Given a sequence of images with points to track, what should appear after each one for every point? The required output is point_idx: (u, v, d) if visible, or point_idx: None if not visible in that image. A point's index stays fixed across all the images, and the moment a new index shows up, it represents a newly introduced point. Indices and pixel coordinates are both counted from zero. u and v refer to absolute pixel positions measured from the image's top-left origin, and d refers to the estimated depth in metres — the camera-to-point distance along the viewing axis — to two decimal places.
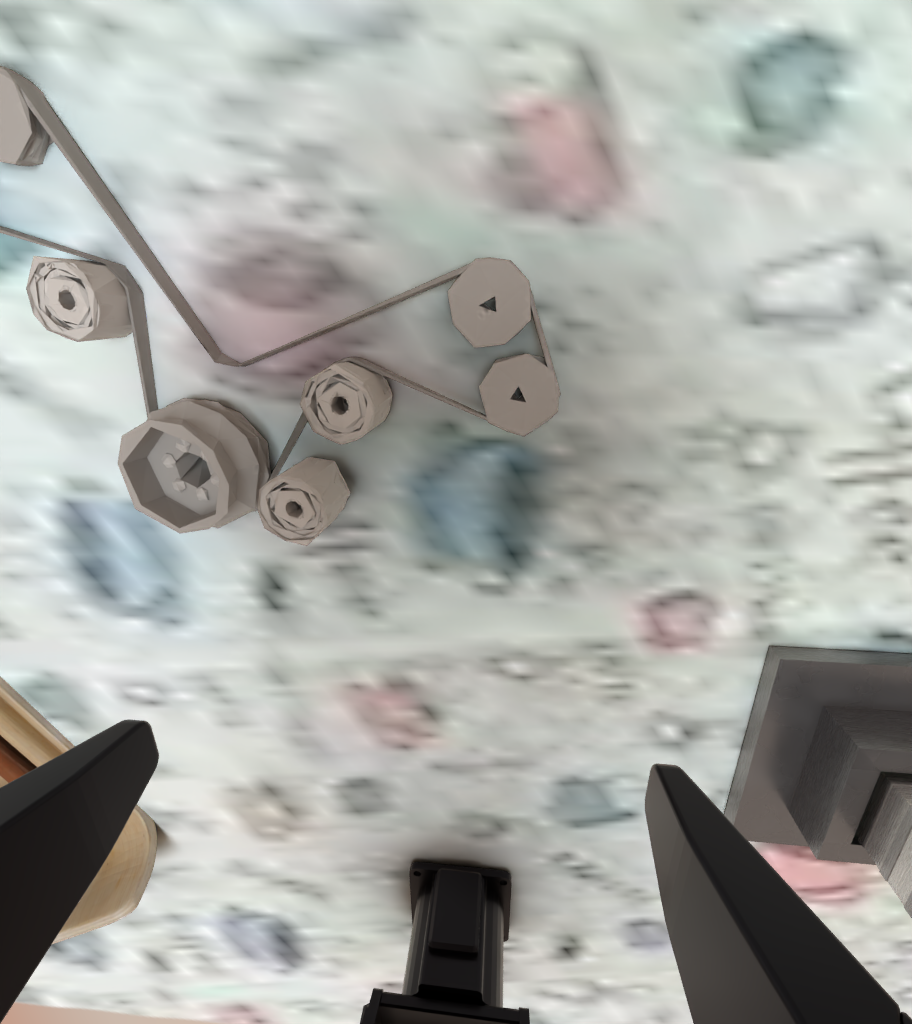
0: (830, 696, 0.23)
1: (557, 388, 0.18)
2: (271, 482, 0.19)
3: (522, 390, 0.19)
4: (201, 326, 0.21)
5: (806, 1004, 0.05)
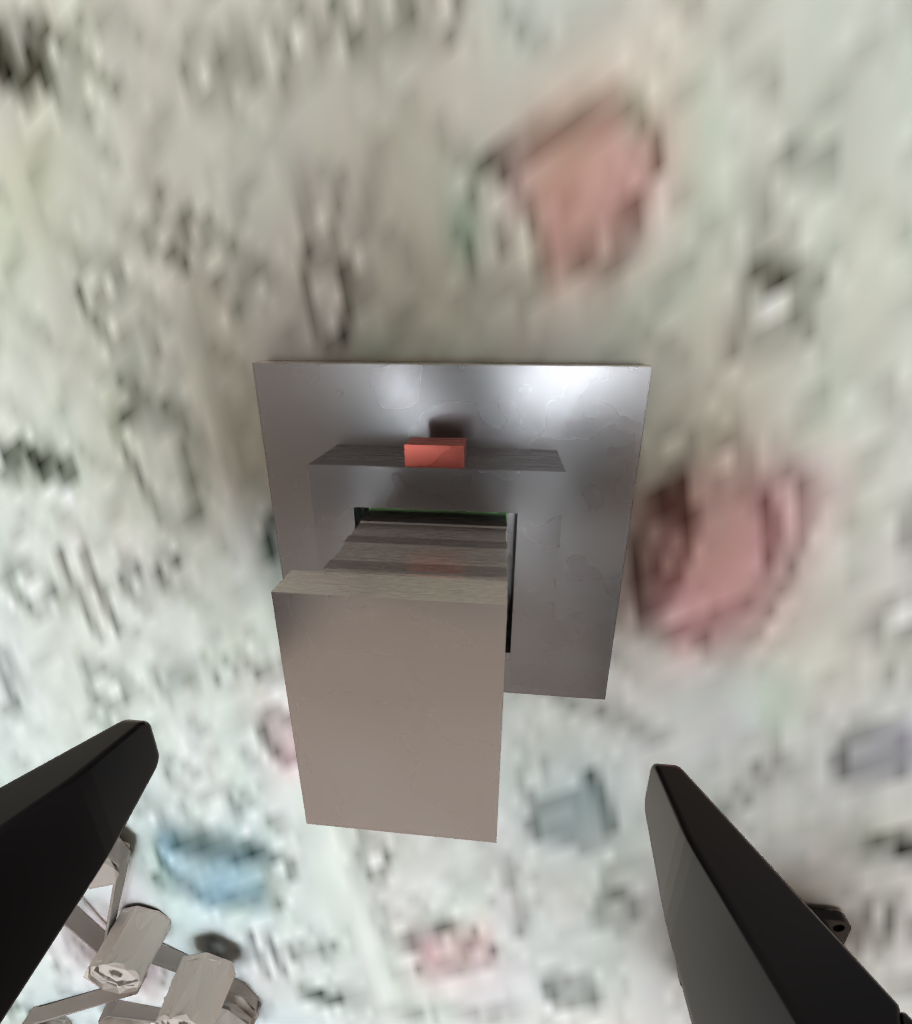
0: None
1: None
2: None
3: None
4: None
5: (806, 1003, 0.05)
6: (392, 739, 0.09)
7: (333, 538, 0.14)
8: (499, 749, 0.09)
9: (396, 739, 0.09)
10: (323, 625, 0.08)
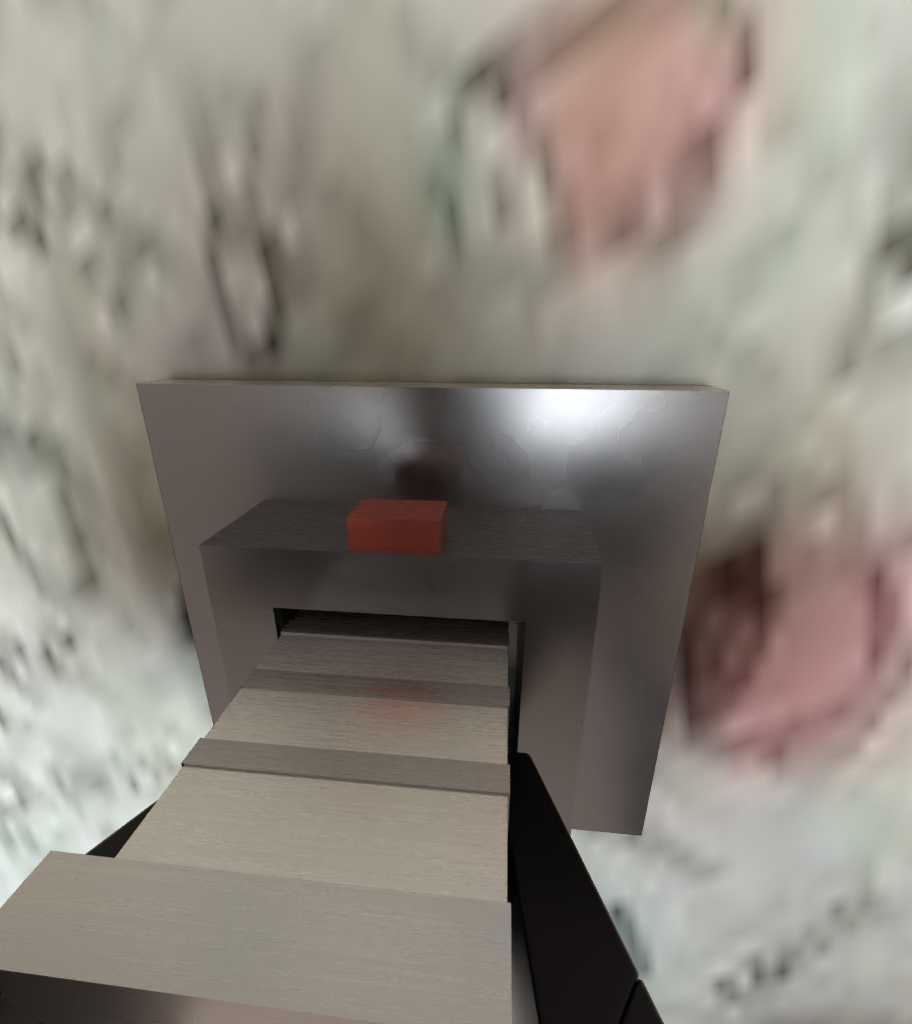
0: None
1: None
2: None
3: None
4: None
5: (548, 971, 0.05)
6: None
7: (246, 650, 0.09)
8: None
9: None
10: None
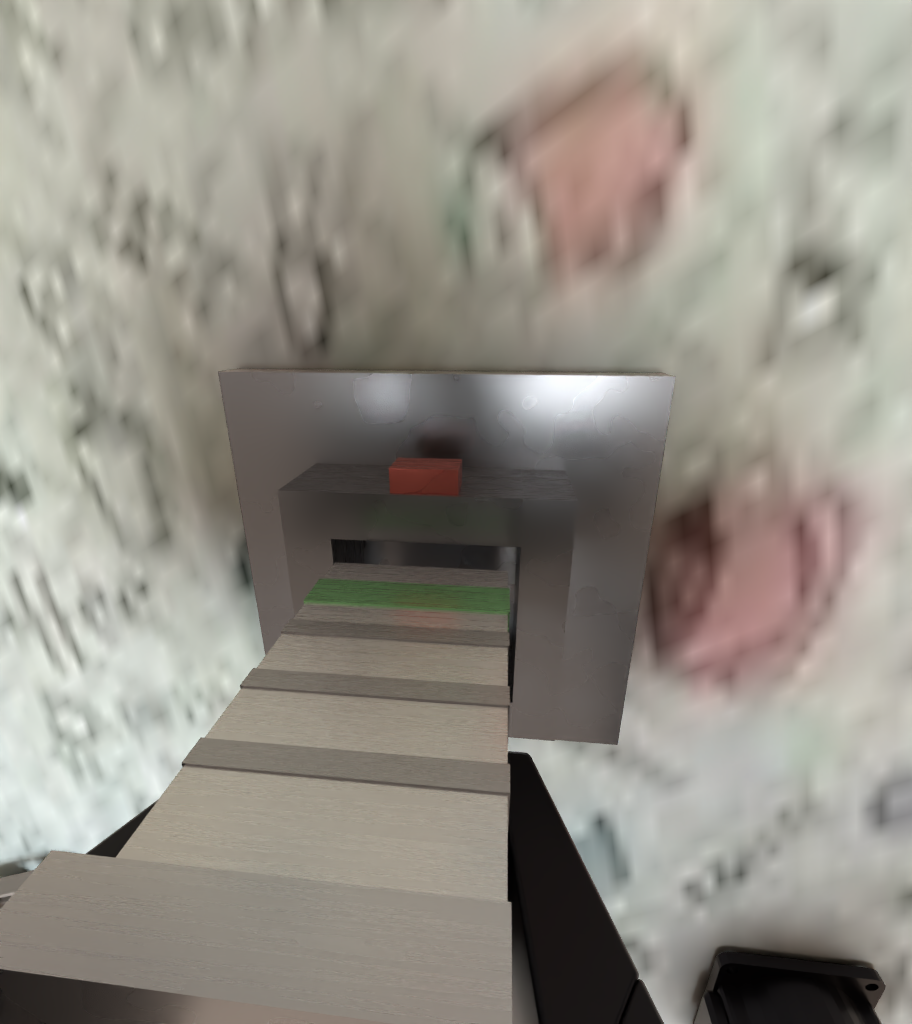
0: None
1: None
2: None
3: None
4: None
5: (549, 972, 0.05)
6: None
7: (308, 574, 0.12)
8: None
9: None
10: None
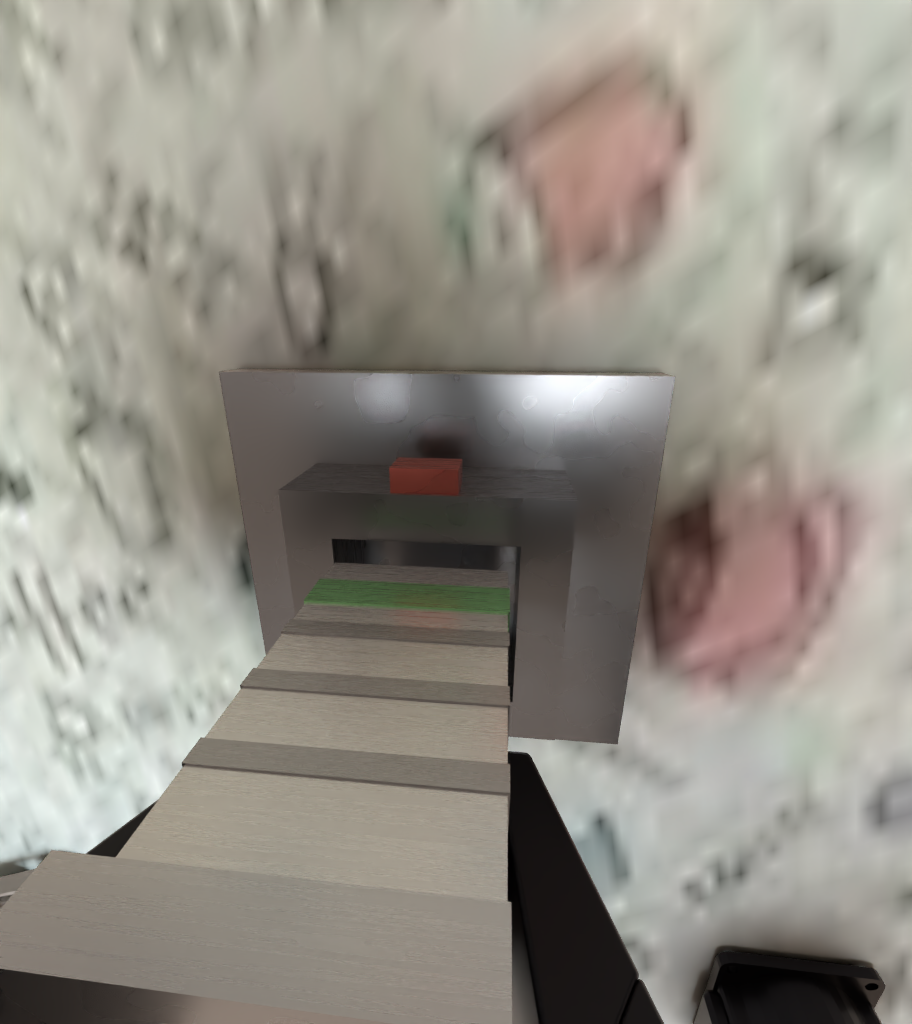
0: None
1: None
2: None
3: None
4: None
5: (549, 971, 0.05)
6: None
7: (309, 574, 0.12)
8: None
9: None
10: None
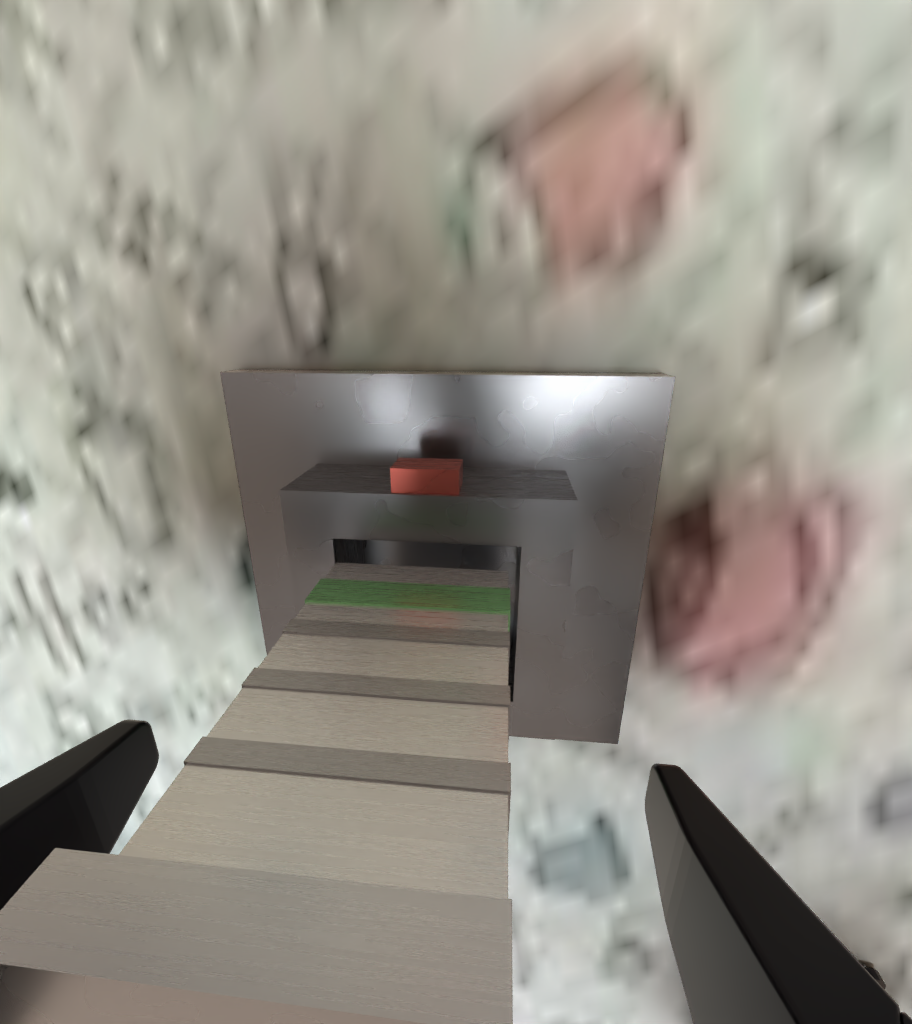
0: None
1: None
2: None
3: None
4: None
5: (806, 1004, 0.05)
6: None
7: (310, 573, 0.12)
8: None
9: None
10: (90, 1021, 0.04)
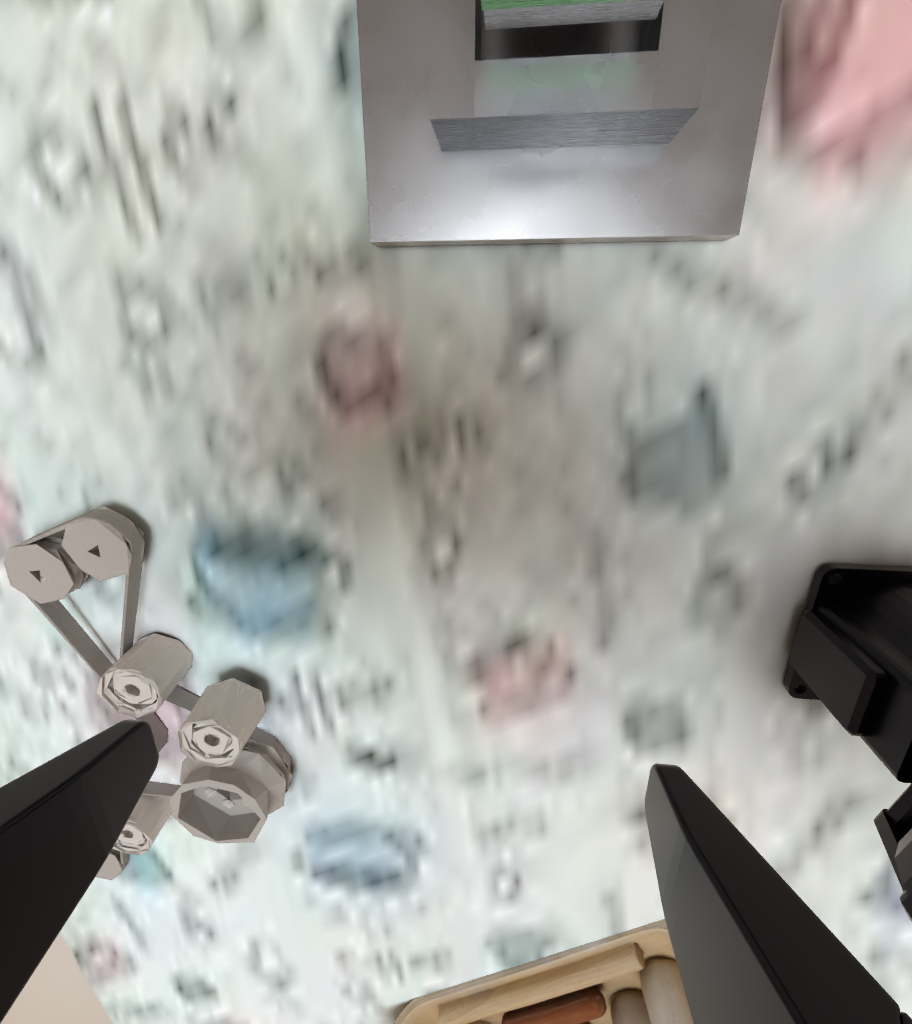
0: (424, 146, 0.15)
1: (79, 519, 0.21)
2: (190, 753, 0.23)
3: (89, 548, 0.21)
4: None
5: (806, 1004, 0.05)
6: None
7: None
8: None
9: None
10: None
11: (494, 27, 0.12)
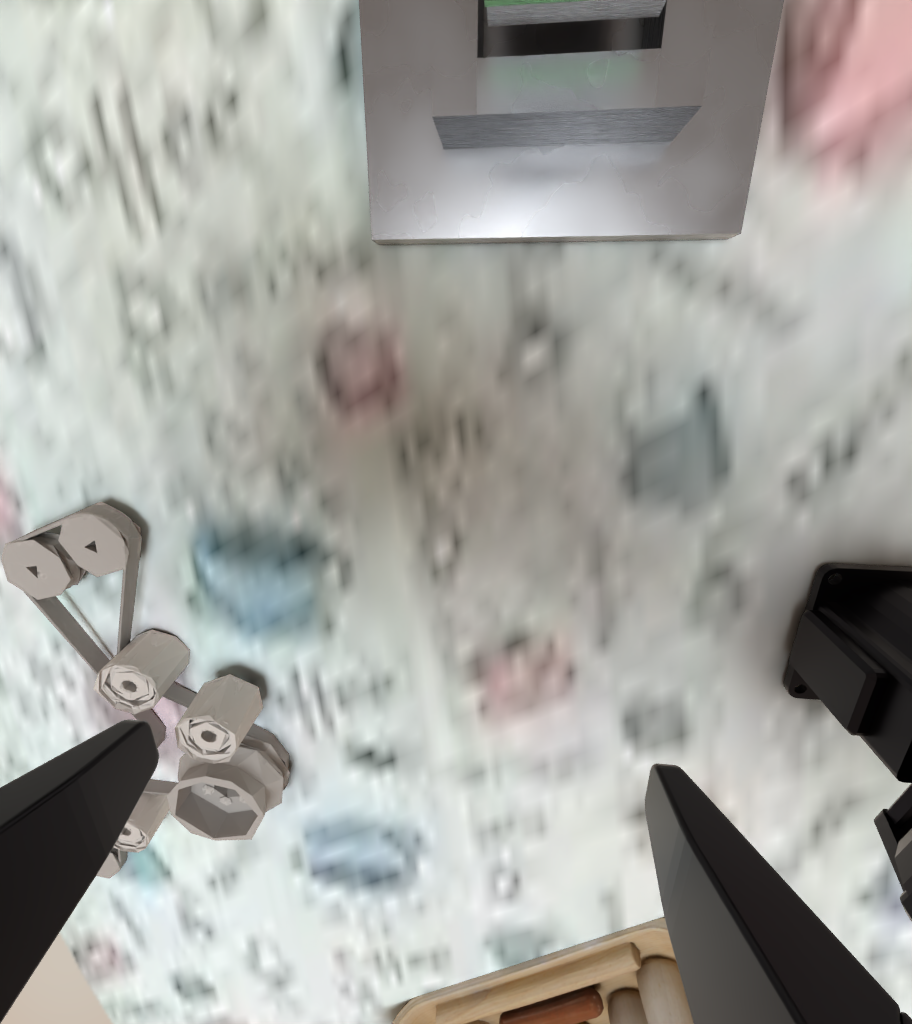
0: (425, 143, 0.15)
1: (76, 515, 0.21)
2: (187, 749, 0.23)
3: (86, 543, 0.21)
4: None
5: (806, 1004, 0.05)
6: None
7: None
8: None
9: None
10: None
11: (497, 24, 0.12)
